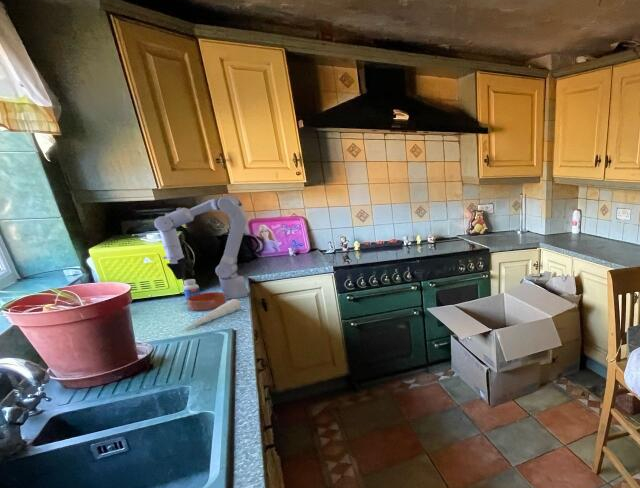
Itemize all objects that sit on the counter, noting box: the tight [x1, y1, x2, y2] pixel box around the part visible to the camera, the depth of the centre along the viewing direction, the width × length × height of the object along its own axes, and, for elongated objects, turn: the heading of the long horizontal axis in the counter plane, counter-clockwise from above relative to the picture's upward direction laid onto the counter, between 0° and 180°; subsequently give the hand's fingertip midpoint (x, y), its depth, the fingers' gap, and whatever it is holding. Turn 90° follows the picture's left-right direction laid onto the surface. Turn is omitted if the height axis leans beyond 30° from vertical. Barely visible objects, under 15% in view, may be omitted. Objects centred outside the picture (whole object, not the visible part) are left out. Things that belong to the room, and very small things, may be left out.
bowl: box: [186, 291, 227, 312], centre depth 175 cm, size 13×13×4 cm
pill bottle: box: [182, 278, 202, 302], centre depth 180 cm, size 6×5×10 cm
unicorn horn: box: [184, 298, 242, 330], centre depth 161 cm, size 5×24×5 cm, turn 165°
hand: (181, 277), depth 180 cm, fingers open, 7 cm apart
